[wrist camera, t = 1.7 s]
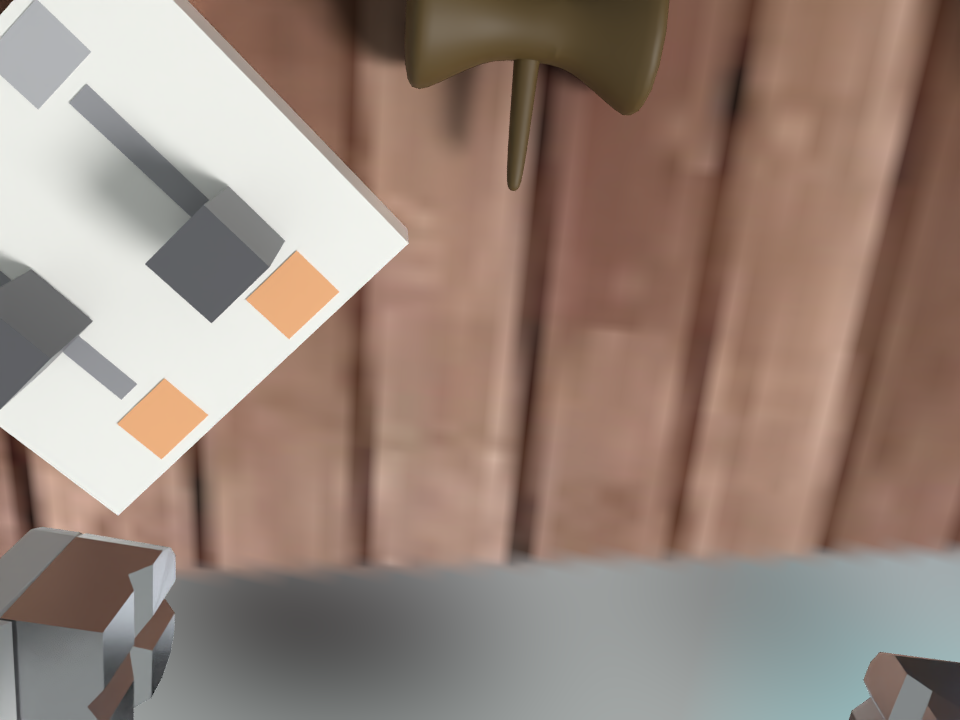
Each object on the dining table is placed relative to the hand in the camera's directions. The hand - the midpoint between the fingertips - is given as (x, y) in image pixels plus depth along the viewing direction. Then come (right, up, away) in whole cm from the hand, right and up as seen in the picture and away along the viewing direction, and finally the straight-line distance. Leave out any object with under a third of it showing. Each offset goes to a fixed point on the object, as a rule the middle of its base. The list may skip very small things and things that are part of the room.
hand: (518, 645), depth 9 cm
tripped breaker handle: (-18, +5, +24) cm, 30 cm away
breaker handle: (-10, +8, +23) cm, 27 cm away
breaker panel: (-16, +9, +26) cm, 31 cm away
